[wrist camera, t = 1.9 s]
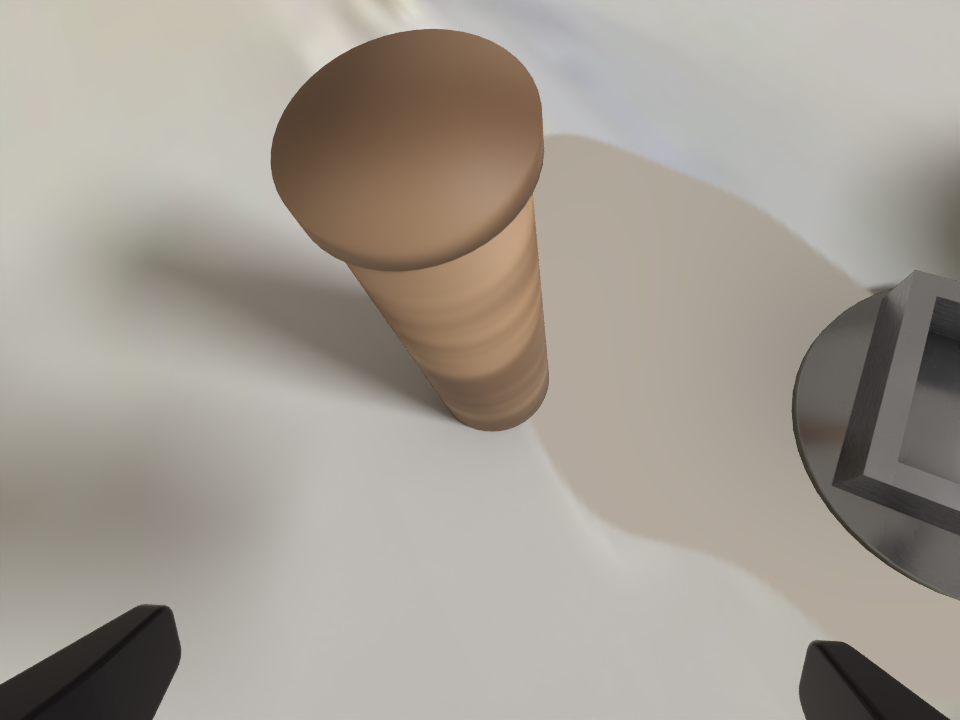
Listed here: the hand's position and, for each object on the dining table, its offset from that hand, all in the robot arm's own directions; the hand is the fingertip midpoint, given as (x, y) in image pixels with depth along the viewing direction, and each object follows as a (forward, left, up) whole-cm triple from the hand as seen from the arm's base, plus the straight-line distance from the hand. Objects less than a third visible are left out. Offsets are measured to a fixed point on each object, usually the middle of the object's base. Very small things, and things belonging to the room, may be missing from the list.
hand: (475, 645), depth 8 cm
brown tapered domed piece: (+6, +6, -13) cm, 15 cm away
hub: (+14, -9, -13) cm, 21 cm away
